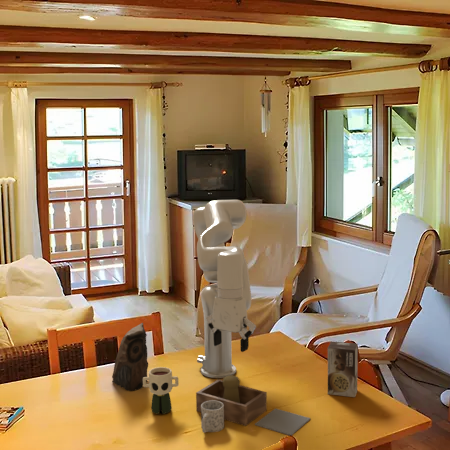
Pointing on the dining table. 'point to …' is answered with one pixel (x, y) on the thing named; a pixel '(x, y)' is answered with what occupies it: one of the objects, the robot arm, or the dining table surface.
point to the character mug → (160, 388)
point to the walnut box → (235, 412)
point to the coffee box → (342, 368)
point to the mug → (212, 416)
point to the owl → (131, 360)
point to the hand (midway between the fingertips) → (230, 347)
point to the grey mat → (282, 421)
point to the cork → (231, 388)
